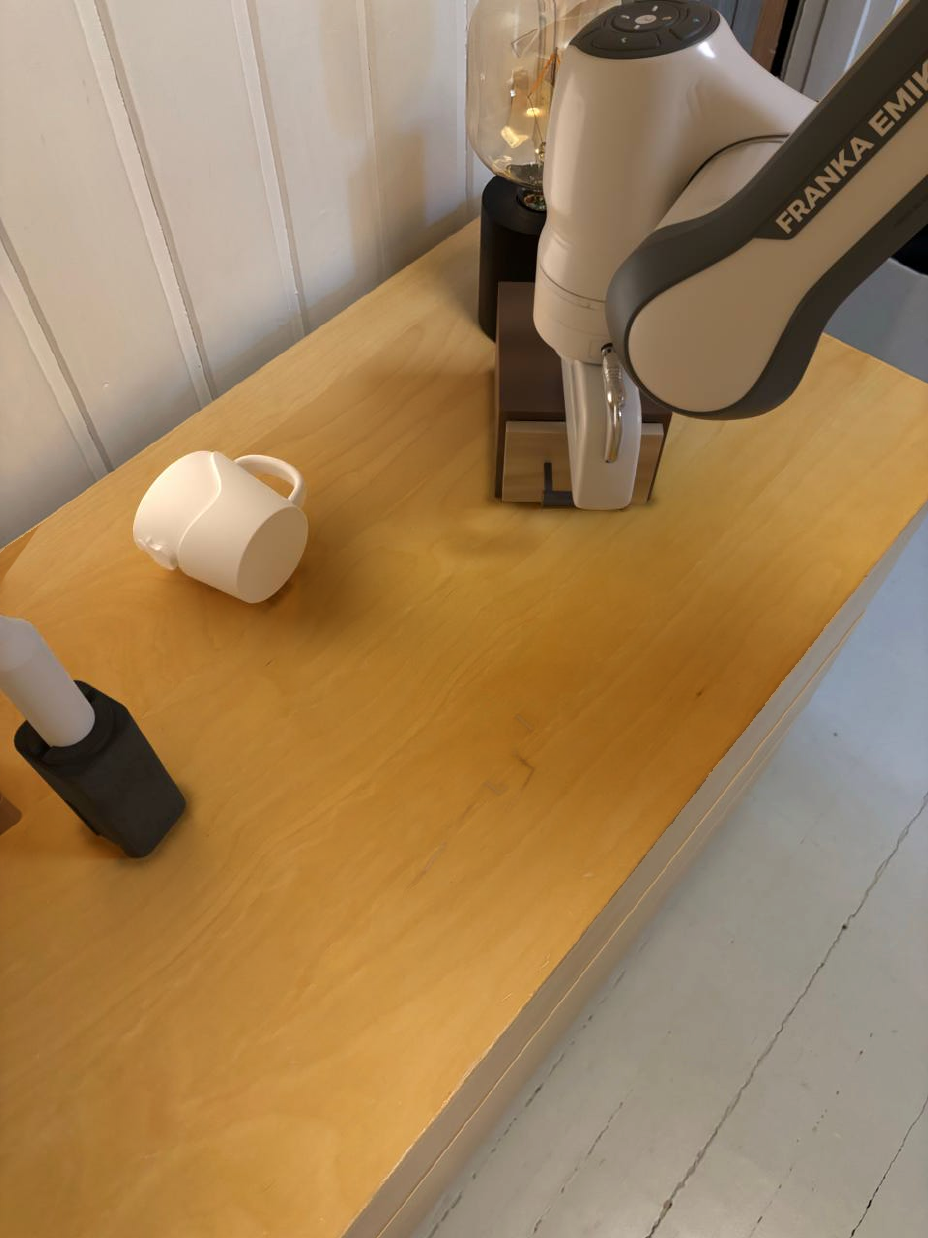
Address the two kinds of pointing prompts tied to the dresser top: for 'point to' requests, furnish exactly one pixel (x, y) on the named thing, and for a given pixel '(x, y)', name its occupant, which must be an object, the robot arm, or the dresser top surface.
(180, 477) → the mug
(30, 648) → the candle
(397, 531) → the dresser top surface
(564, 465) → the drawer
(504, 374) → the cabinet
